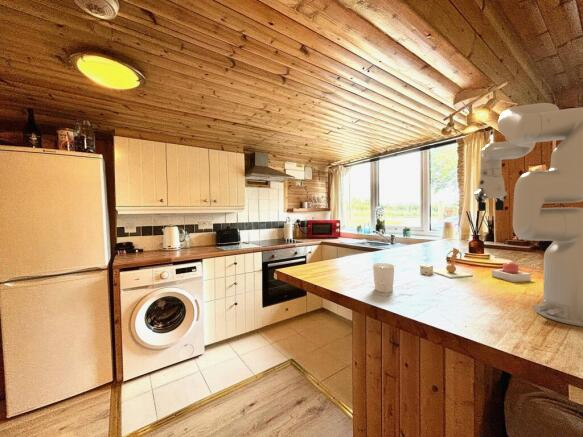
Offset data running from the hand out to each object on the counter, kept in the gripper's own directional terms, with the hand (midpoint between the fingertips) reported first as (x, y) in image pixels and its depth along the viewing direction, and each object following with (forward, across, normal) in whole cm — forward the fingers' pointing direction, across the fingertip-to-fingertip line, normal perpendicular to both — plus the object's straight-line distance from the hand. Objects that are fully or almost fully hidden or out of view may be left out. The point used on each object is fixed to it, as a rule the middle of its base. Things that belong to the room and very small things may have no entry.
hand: (490, 210), depth 110 cm
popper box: (+30, +2, -7) cm, 31 cm away
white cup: (+31, -59, -6) cm, 67 cm away
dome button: (+28, +2, -7) cm, 29 cm away
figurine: (+30, -15, +6) cm, 34 cm away
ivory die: (+30, -26, +10) cm, 41 cm away
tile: (+30, -16, +6) cm, 35 cm away
